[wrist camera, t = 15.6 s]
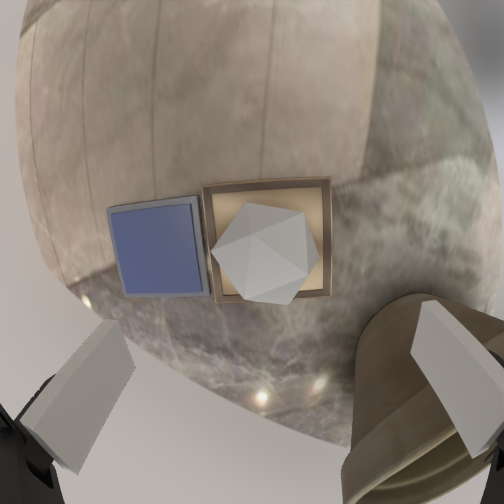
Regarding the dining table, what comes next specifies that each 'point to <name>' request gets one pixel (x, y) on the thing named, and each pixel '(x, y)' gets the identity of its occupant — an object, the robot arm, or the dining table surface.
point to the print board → (281, 196)
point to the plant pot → (407, 412)
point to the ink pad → (160, 248)
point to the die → (267, 253)
